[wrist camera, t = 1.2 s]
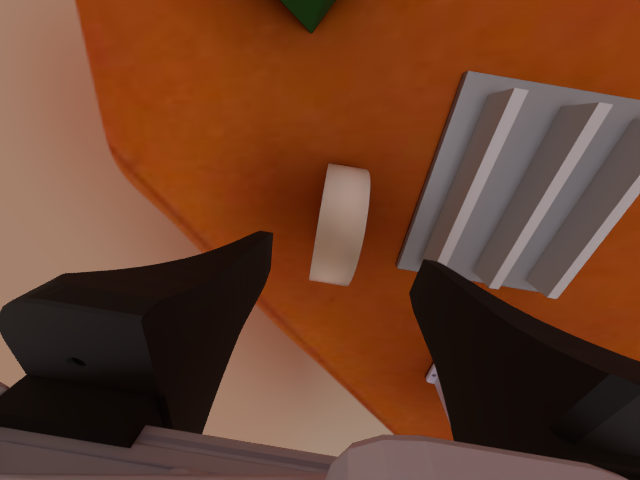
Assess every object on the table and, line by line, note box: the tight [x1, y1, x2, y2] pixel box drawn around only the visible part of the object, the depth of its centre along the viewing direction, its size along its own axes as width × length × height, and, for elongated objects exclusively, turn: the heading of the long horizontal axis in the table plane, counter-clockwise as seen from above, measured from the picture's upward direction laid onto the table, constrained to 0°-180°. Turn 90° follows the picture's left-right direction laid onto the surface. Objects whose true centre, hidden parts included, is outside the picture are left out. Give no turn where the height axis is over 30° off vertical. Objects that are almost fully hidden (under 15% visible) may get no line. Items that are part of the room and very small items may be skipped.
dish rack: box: [396, 71, 640, 299], centre depth 17 cm, size 15×14×3 cm
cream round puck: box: [309, 163, 370, 286], centre depth 16 cm, size 8×2×8 cm, turn 171°
